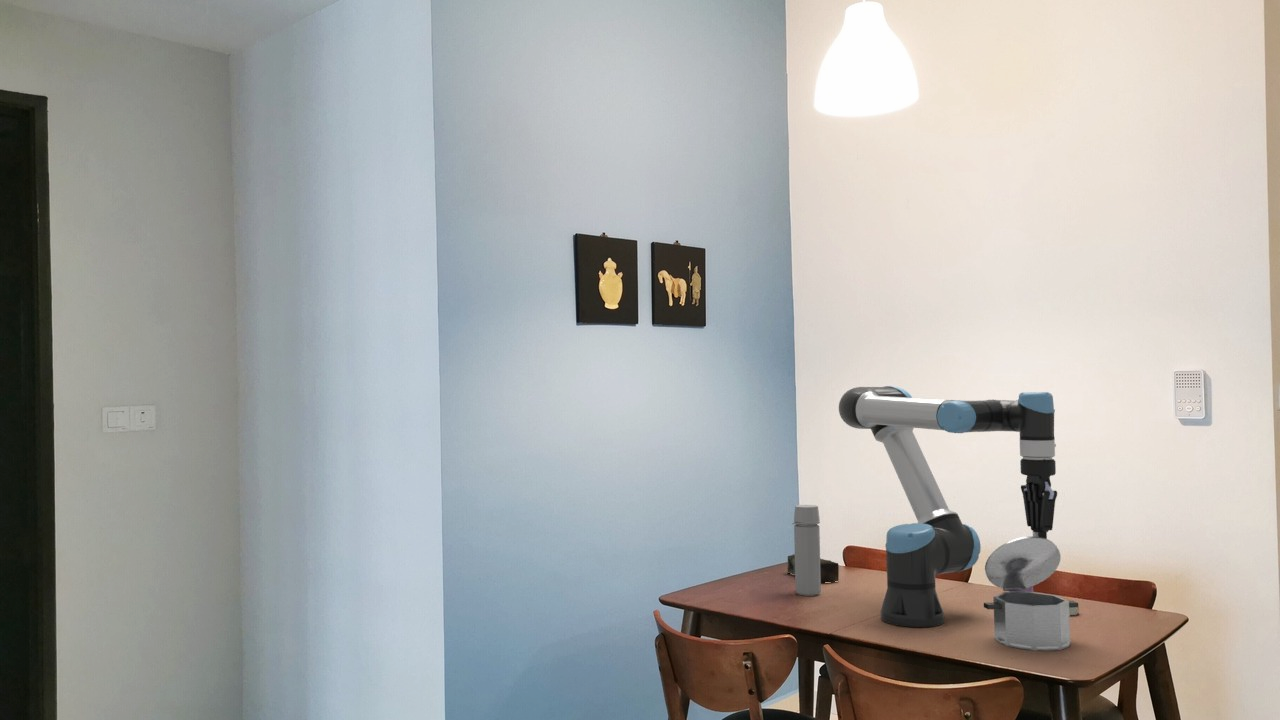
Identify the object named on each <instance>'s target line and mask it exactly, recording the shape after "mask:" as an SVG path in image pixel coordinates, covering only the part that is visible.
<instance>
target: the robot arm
mask: <svg viewBox="0 0 1280 720" xmlns="http://www.w3.org/2000/svg"><path fill="white" fill-rule="evenodd" d="M1055 410H1056V409H1055V406H1054V395H1053V394H1052V393H1050V392H1048V391H1047V392H1046V391H1038V392H1037V391H1027V392H1026V391H1024V392H1023V391H1022V392H1020V393H1019V394H1018V400H1017V399H1016V400H1006V399H1002V400H1001V399H985V400H961V399H959V400H956V399H940V398H939V399H936V398H924V397H923V398H919V397H913V396H912V395H911V394H910V392H909V391H907V390H905V389H904V388H901V387H897V386H896V387H895V386H891V385H890V386H889V385H887V386H856V387H853V388H851V389H849V390H847V391H846V392H845V393H843V395H842V396H841V398H840V400H839V403H838V413H839V416H840V418H841V420H842V421H843V422H844V423H845V424H846V425H847V426H849V427H850V428H853V429H861V430H863V429H865V430H870V431H871V433H872V435H873V437H874V439H875V441H877V442H879V443H882V444H883V446H884V448H885V451H886V453H887V455H888V457H889V459H890V462H891V464H892V466H893V468H894V471H895V474H896V475H897V477H898V478H897V479H899V482H900V484H901V486H902V489H903V491H904V493H905V495H906V497H907V500H908V502H909V504H910V507H911V509H912V511H913V513H914V516H915V518H916V520H917V523H916V522H915V523H914V522H913V523H904V524H903V523H902V524H898V525H896V526H892V527H891V528H890V529H888V530H887V532H886V541H885V557H886V559H885V560H886V583H887V586H886V587H887V588H886V591H885V595H884V598H883V600H882V605H881V609H880V619H881V621H882V622H885V623H887V624H891V625H894V626H901V627H908V628H909V627H910V628H911V627H912V628H913V627H914V628H927V627H928V628H929V627H936V626H940V625H942V624H944V622H945V616H944V615H945V614H944V609H943V607H942V604H941V602H940V599H939V596H938V593H937V588H936V587H937V586H936V575H942V574H949V573H960V572H962V571H965V570H969V569H971V568H972V567H974V565H976V563H977V562H978V560H979V556H980V554H981V548H982V547H981V540H980V536H979V535H978V533H977V531H976V530H975V529H974V528H973V527H971V526H969V525H967V524H965V523H962V519H960V516H959V513H957V512H955V511H953V510H950V509H949V506H948V505H947V502H946V501H945V497H944V496H943V494H942V491H941V489H940V487H939V485H938V483H937V481H936V479H935V476H934V475H933V473H932V470H931V468H930V466H929V464H928V462H927V460H926V457H925V455H924V452H923V451H922V448H921V446H920V444H919V442H918V440H917V438H916V435H915V433H914V432H913V430H914V429H925V430H935V431H936V430H937V431H945V432H947V433H952V434H964V433H984V432H985V433H986V432H988V433H989V432H1016V433H1019V455H1020V457H1022V458H1021V459H1020V462H1019V463H1020V474H1021V475H1023V476H1026V479H1025V484H1021V485H1020V489H1021V493H1022V498H1023V505H1024V512H1025V519H1026V525H1027V527H1030V530H1031V531H1032V537H1042V538H1045V539H1048V532H1049V531H1053V525H1054V517H1055V507H1056V500H1057V497H1058V491H1057V490H1053V489H1052V488H1051V487H1052V482H1051V477H1052V476H1055V475H1056V472H1057V471H1056V467H1057V466H1056V460H1055V459H1054V457H1055V456H1056V447H1057V444H1056V443H1055V412H1056V411H1055Z"/></svg>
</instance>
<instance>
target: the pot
mask: <svg viewBox="0 0 1280 720" xmlns="http://www.w3.org/2000/svg"><path fill="white" fill-rule="evenodd" d="M1065 599H1066V598H1065ZM1065 599H1063V597H1060V596H1059V595H1056V594H1047V593H1041V592H1034V591H1033V592H1009V591H1003V592H1001V593H999V594H997V595H993V602H992V601H991V602H983V608H984V609H987V610H993V625H994V626H993V628H994V631H993V632H994V640H996V642H998V643H999V644H1001V645H1003V646H1006V647H1011V648H1015V649H1021V650H1025V651H1026V650H1027V651H1034V652H1035V651H1039V652H1041V651H1042V652H1051V651H1054V652H1055V651H1062V650H1066V649H1068V648H1069V647H1070V645H1071V625H1070V623H1071V621H1070V620H1071V619H1070V616H1069V608H1074V607H1078V608H1079V602H1077V601H1074V600H1071V601H1068V600H1065Z"/></svg>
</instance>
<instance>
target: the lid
mask: <svg viewBox="0 0 1280 720" xmlns="http://www.w3.org/2000/svg"><path fill="white" fill-rule="evenodd" d="M1060 562H1061V552H1060V549H1059V548H1058V546H1057V544H1055V543H1054V542H1053V541H1051V540H1050V539H1048V538H1047V539H1045V538H1042V537H1033V535H1032V536H1022V537H1018V538H1015V539H1012V540H1010V541H1006V542H1005V543H1003V544H1002V545H1000V546H998V548H996V549H995V550H993V552H991V554H990V555H989V556H988V558H987V559H986V562H985V564H984V565H985V566H984V572H985V576H986V578H987V580H988V582H990V584H992V585H994V586H995V587H997V588H1000V589H1002V591H1003V592H1009V591H1025V590H1026V588H1028V587H1031V586H1033V587H1034V586H1036V585H1038V584H1040V583H1043V582H1044V581H1045V580H1047V579H1049V578H1050V577H1051V576H1052V575H1053V574H1054V573H1055V572H1056V571H1057V569H1058V567H1059V566H1060Z"/></svg>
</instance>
